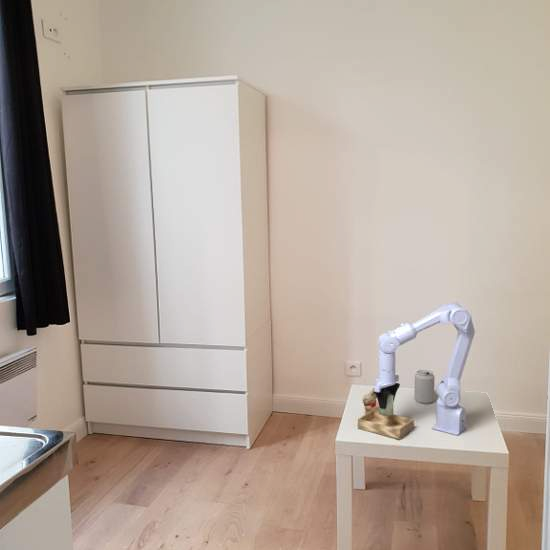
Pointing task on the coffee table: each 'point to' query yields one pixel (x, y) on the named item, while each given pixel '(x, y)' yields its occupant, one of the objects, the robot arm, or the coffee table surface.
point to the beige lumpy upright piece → (370, 402)
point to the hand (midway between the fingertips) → (386, 405)
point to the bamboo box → (386, 424)
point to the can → (424, 386)
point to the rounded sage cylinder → (387, 407)
